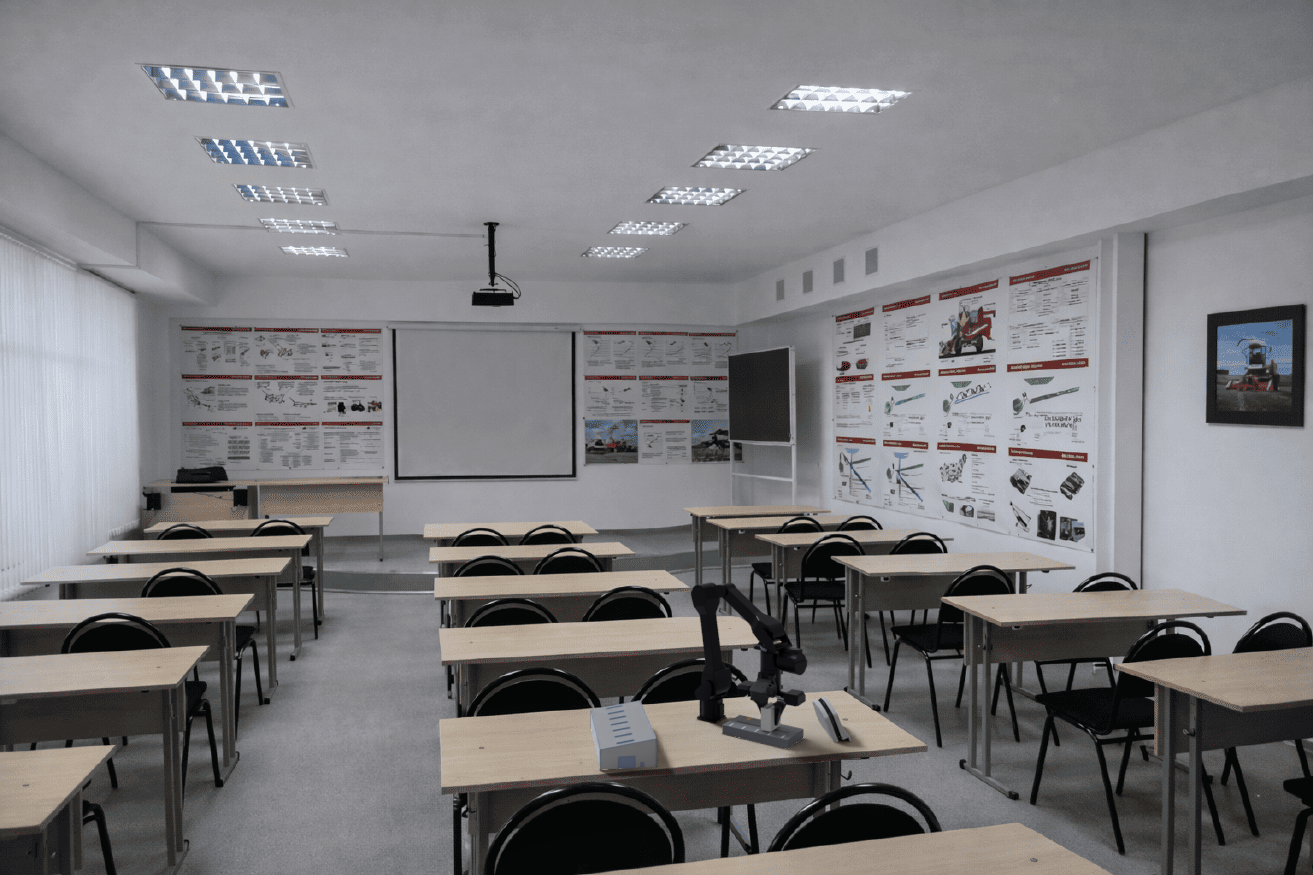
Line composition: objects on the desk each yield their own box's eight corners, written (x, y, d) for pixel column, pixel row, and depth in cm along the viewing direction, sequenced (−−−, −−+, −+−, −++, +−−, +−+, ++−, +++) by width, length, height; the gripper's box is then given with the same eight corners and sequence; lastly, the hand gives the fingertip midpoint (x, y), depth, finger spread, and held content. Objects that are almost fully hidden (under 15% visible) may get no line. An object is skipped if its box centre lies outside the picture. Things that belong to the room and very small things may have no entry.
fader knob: (760, 729, 228) (760, 707, 228) (770, 723, 233) (770, 701, 233) (770, 731, 227) (770, 709, 227) (780, 725, 232) (780, 703, 231)
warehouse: (590, 729, 238) (590, 702, 238) (640, 726, 240) (640, 700, 240) (599, 772, 208) (599, 741, 208) (656, 768, 210) (656, 738, 210)
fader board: (722, 733, 233) (722, 724, 233) (739, 723, 241) (739, 714, 241) (787, 749, 222) (787, 739, 222) (803, 737, 230) (803, 728, 230)
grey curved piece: (852, 742, 227) (840, 707, 226) (836, 748, 226) (824, 714, 226) (835, 720, 243) (823, 688, 243) (820, 726, 243) (808, 694, 243)
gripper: (726, 669, 228) (726, 725, 229) (788, 680, 218) (788, 740, 218) (746, 659, 238) (746, 714, 238) (806, 670, 227) (806, 727, 227)
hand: (770, 723), depth 230 cm, fingers closed on fader knob, 3 cm apart
